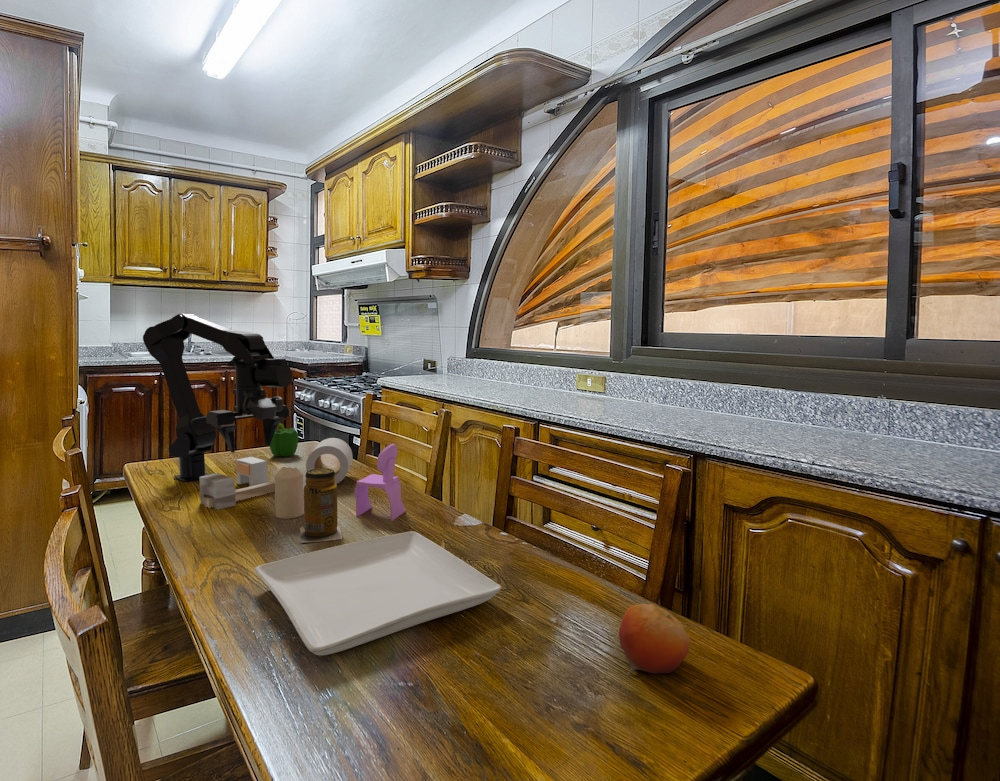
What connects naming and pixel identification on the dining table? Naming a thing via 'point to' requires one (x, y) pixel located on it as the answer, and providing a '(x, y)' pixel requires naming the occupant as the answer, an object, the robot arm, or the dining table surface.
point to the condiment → (320, 507)
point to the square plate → (372, 589)
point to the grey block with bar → (246, 493)
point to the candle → (289, 493)
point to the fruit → (652, 639)
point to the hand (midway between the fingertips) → (250, 449)
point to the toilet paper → (334, 448)
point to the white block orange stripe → (251, 471)
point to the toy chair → (381, 484)
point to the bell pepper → (284, 442)
